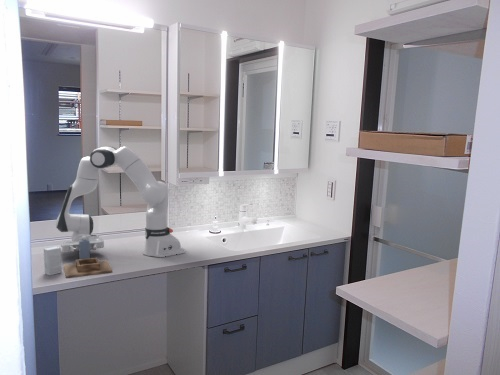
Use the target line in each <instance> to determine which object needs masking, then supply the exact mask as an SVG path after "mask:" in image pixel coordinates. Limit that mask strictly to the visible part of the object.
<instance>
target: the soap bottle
mask: <svg viewBox="0 0 500 375" xmlns="http://www.w3.org/2000/svg"><path fill="white" fill-rule="evenodd" d="M90 251H91V249H90V241H89V239H86V236H82V239H80V240H79V252H78V253H79V255H78V256H79V259H88V258H91V255H90V254H91V252H90Z"/></svg>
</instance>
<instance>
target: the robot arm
mask: <svg viewBox="0 0 500 375" xmlns="http://www.w3.org/2000/svg"><path fill="white" fill-rule="evenodd" d="M115 165H117V166H118V167H119V168H120V169H121V170H122V171H123V172H124V173H125V174H126V176H127V177H128V178H129V179H130V180H131V182H133V184H134V185H135V187H136V188H137V190H138V192H139V193H140V195H141V196H142V198H143V200H144V202H145V203H146V204H147V206H146V212H145V230H144V237H145V242H144V243H145V244H144V248H143V255H145V256H147V257H148V256H149V257H156V258H164V257H165V256H166V257H171V256H177V255H180V254H181V255H182V254H185V253H184V252H186V250H185V248H183V247H182V246H181V242H180V239H178V238H177V237H176V236H175V235H173V234H172V233H173V231H174V230H173V228H171V227H168V223H167V221H168V204H169V194H170V190H169V186H168V185H167V184H166V183H165V182H164V181H160V180H157V179H156V178H155V176H154V174H153V173H152V170H151V169H150V168H149V166H147V164H146V163H145V162H144V161H143V160H142V158H140V157H139V155H138V154H137V153H136V152H135V151H133V150H132V149H131V148H130V147H128V146H121V147H119V148H118V149H117V148H116V147H113V146H101V147H98V148H95V149H93V151H91V153H90V156H85V157H84V156H83V157H82V158H81V159H80V161H79V165H78V168H77V172H76V177H75V180H74V182H73V183H72V184H70V185H69V186H68V188H67V190H66V193H65V196H64V198H63V201H62V205H61V208H60V211H59V214H58V216H57V218H56V220H55V226H56V229H57V230H58V231H59V232H61V233H69V232H71V233H72V234H71V240H69V241H64V242H62V243H61V244H60V248H61V251H62V252H64V253H65V252H66V253H68V252H74V253H75V252H77V251H79V240H80V239H82V236H86V239H89V241H90V250H97V249H103V248H105V241H104V240H103V238H101V237H100V235H98V234H92V233H93V231H94V219H93V217H92V216H91V215H90V214H85V213H84V214H81V213H80V214H79V213H70V209H71V206H72V204H73V203H72V202H73V201H74V200H75V199H76V198H77V197H80V196H84V195H88V194H91V193H92V192H94V191H95V190H96V189H97V187H98V184H99V177H100V171H101V169H106V168H111V167H113V166H115ZM176 254H177V255H176Z"/></svg>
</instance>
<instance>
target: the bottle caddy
mask: <svg viewBox="0 0 500 375" xmlns="http://www.w3.org/2000/svg"><path fill="white" fill-rule="evenodd" d="M63 270H64V274H65V278H66V279H69V278H76V277H84V276H92V275H100V274H109V272H110V273H113V269H112V266H111V265H110V263H109V261H108V260H99V258H98V257H90V258H88V259H80V258H79V259H75V263H72V264H64V265H63Z"/></svg>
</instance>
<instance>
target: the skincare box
mask: <svg viewBox="0 0 500 375" xmlns="http://www.w3.org/2000/svg"><path fill="white" fill-rule="evenodd" d="M61 251H62V247H59V246H55V245H54V246H51V247H47V248H43V263H44V275H47V276H48V277H49V276H50V277H51V276H53V275H57V274H60V273H61V274H62V254H61Z"/></svg>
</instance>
